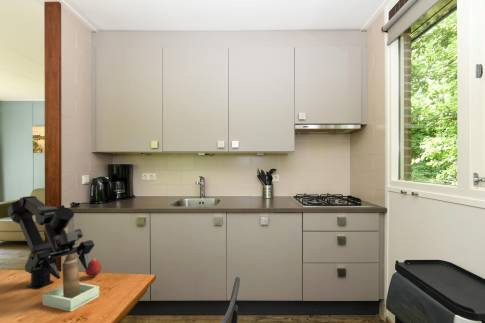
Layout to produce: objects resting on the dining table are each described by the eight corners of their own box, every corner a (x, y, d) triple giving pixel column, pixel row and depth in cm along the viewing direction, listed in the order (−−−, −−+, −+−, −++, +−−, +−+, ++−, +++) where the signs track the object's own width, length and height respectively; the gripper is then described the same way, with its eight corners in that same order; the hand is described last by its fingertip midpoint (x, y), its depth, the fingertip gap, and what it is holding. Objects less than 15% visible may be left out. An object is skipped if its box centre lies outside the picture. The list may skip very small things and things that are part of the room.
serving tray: (42, 304, 93) (42, 294, 93) (72, 290, 104) (72, 281, 104) (70, 311, 89) (70, 300, 89) (99, 296, 99) (99, 286, 99)
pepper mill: (61, 297, 96) (60, 254, 96) (76, 292, 100) (75, 250, 100) (66, 302, 93) (65, 257, 93) (82, 296, 97) (80, 253, 97)
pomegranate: (94, 281, 112) (94, 261, 112) (82, 280, 113) (82, 260, 113) (104, 275, 118) (104, 256, 118) (92, 274, 119) (92, 255, 119)
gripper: (35, 228, 91) (51, 269, 85) (91, 218, 106) (109, 252, 101) (24, 248, 95) (39, 288, 89) (80, 236, 111) (96, 269, 105)
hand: (73, 273), depth 96 cm, fingers open, 9 cm apart
